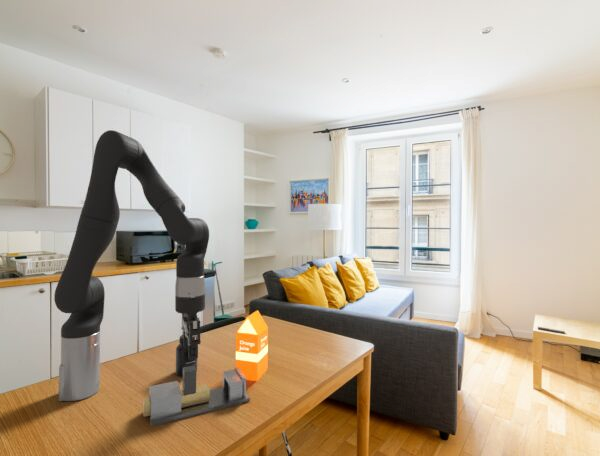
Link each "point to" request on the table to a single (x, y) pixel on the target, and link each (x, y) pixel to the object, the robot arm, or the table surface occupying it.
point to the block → (185, 391)
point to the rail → (169, 404)
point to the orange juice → (252, 347)
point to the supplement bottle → (183, 358)
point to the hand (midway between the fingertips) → (190, 353)
